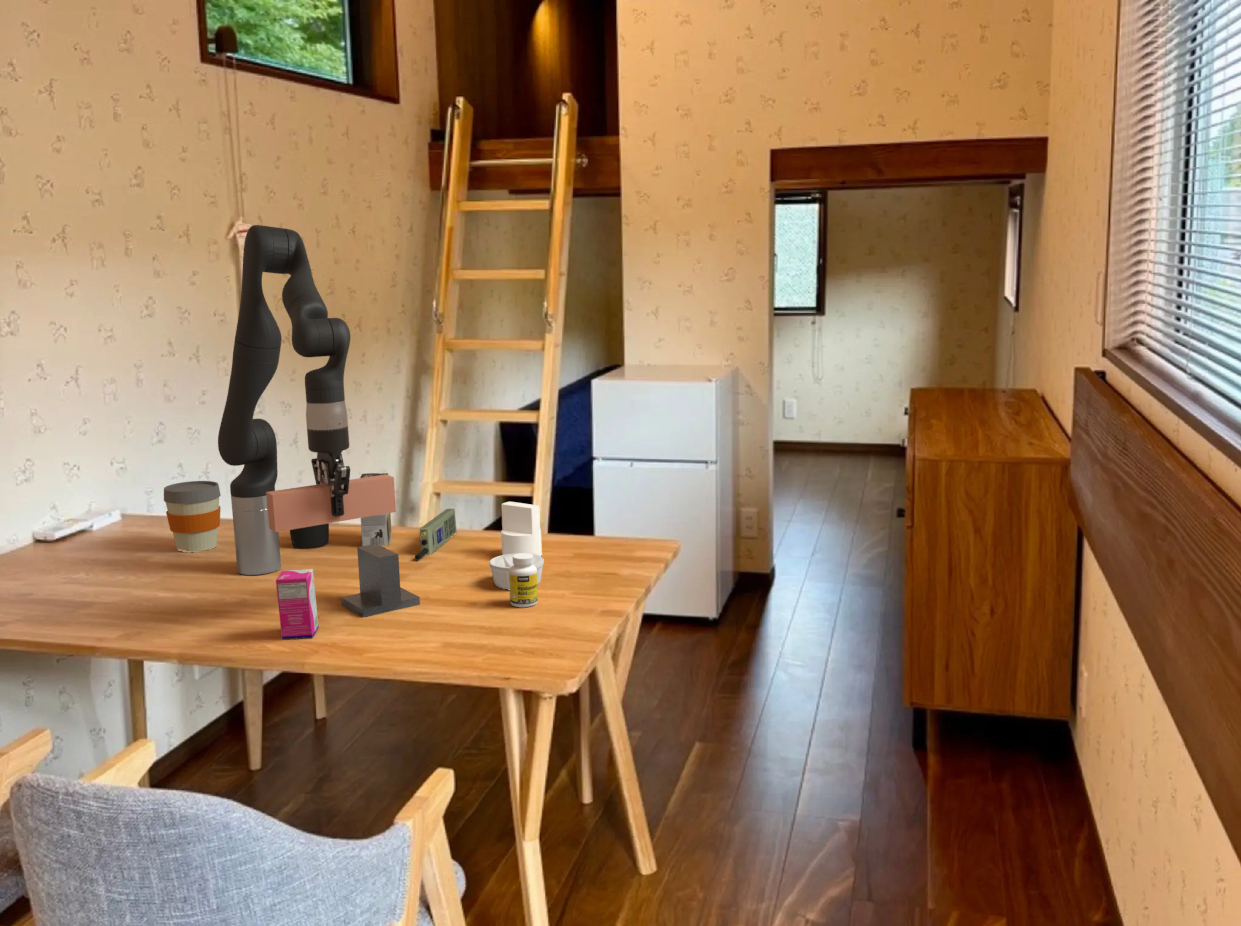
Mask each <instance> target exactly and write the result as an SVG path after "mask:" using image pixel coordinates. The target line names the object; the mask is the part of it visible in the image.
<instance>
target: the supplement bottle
mask: <svg viewBox="0 0 1241 926" xmlns="http://www.w3.org/2000/svg"><path fill="white" fill-rule="evenodd" d="M532 563H533V555H532V554H528V553H520V554H515V555H513V564H514V565H513V566H512V567H511V568H510V571H509V576H510V590H509V602H510V604H511V606H513V607H516V608H529V607H534V606H535V605H537V604H538V585H537V568H536V567H535V566H534V565H532Z"/></svg>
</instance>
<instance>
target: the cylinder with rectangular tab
mask: <svg viewBox="0 0 1241 926" xmlns="http://www.w3.org/2000/svg"><path fill="white" fill-rule="evenodd" d="M540 509H541V508H540V505H538V504H529V503H524V502H523V503H522V502H517V501H516V502H515V501H506V502H503V503H501V526H502V530H501V531H500V532H501V533H500V535H501V553H502V555H505V554H513V553H530V554H536V555H539V556H541V555H542V556H543V548H542V529H541V513H540V512H541V511H540Z"/></svg>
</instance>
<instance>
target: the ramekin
mask: <svg viewBox="0 0 1241 926" xmlns="http://www.w3.org/2000/svg"><path fill="white" fill-rule="evenodd" d="M515 554H520V553H513V554H505V555H498V556H495V557H493V558H491V559H490V560H489V563H488V564H489V568H490V570H491V575H492V579H493V583H494V584H495V586H496V587H497V588H499V589H501V588H502V590H505V589H510V576H509V571H510V568H511V567H512V566H513V565H514V564H513V555H515ZM528 554H530V553H528ZM532 555H533V563H532V565H534V566H535V567H536V568H537V586H538V585H539V584H540V582H541V580H542V575H543V566H544V564H545V559H544V557H543V556H542V557H541V556H539V555H536V554H532Z"/></svg>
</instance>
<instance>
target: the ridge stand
mask: <svg viewBox="0 0 1241 926" xmlns="http://www.w3.org/2000/svg"><path fill="white" fill-rule="evenodd" d="M356 549H357V566H358V578H359V580H358V581H359V593H354V594H351V595H346V596H342V597H341V598H340V599H341V605H342V606H343V607H345V608H347V609H349V610H350V611H352V612H353V613H355V614H356V615H358V616H360V617H362V618H366V617H371V616H375V615H380V614H384V613H388V612H392V611H396V610H401V609H404V608H409V607H414V606H419V605H420V604H421V598H420V596H418V595H416V594H414V593H413V592H410V591H409V590H407V589H406V588H403V587H401V578H400V577H401V576H400V560H399V559H400V557H399V553H397V552H395V551H392V550H390V549H388V548H387V547H382V546H380V545H377V544H372V545H367V546H362V545H361V546H357V548H356Z"/></svg>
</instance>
